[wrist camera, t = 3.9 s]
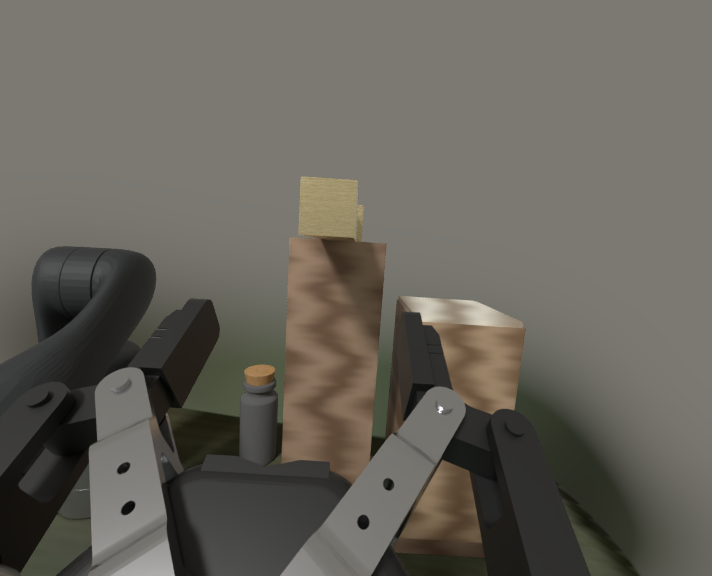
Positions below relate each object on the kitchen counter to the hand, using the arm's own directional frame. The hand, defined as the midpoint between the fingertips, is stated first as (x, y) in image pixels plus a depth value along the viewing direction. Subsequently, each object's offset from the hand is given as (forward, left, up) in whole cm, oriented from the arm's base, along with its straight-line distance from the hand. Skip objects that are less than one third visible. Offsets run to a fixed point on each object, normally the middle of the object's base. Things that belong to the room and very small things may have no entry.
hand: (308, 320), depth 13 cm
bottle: (-3, +37, -32) cm, 49 cm away
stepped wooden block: (+14, +24, -32) cm, 42 cm away
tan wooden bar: (+5, +20, +4) cm, 21 cm away
